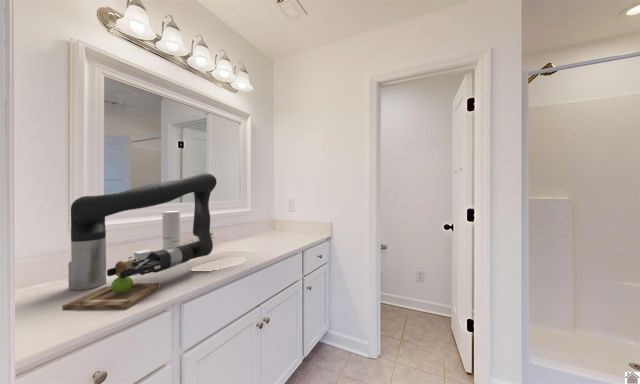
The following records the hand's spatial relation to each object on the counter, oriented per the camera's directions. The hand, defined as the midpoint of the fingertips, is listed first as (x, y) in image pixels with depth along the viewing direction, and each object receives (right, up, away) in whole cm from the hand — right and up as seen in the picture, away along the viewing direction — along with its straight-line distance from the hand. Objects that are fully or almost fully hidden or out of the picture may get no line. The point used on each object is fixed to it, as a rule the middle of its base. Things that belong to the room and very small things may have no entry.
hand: (114, 274), depth 74 cm
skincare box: (-17, -9, +35) cm, 40 cm away
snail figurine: (+1, -7, +2) cm, 8 cm away
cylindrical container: (-8, -9, +41) cm, 43 cm away
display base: (-2, -9, +2) cm, 9 cm away
